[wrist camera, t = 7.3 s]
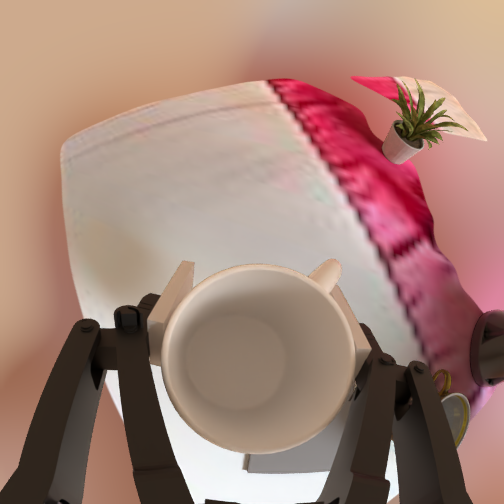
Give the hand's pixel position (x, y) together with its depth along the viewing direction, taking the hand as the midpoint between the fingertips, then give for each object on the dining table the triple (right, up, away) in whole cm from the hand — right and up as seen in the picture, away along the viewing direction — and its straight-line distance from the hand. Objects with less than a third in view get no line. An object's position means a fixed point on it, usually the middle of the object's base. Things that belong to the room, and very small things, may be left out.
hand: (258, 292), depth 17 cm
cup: (0, -5, +3) cm, 5 cm away
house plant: (+28, +21, +28) cm, 45 cm away
